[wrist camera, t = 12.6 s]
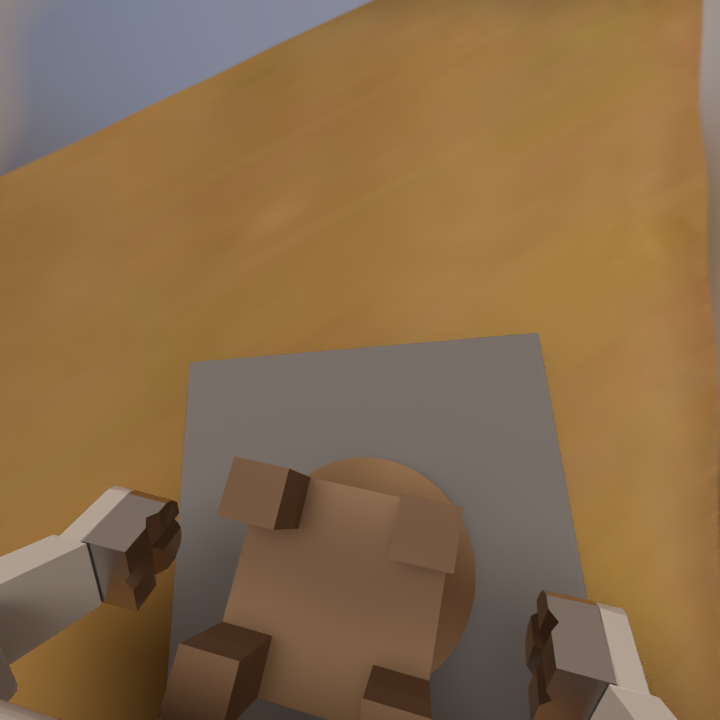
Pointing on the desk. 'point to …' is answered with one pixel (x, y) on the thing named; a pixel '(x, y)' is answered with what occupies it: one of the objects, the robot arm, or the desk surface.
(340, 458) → the mat
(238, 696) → the stool
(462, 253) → the desk surface
